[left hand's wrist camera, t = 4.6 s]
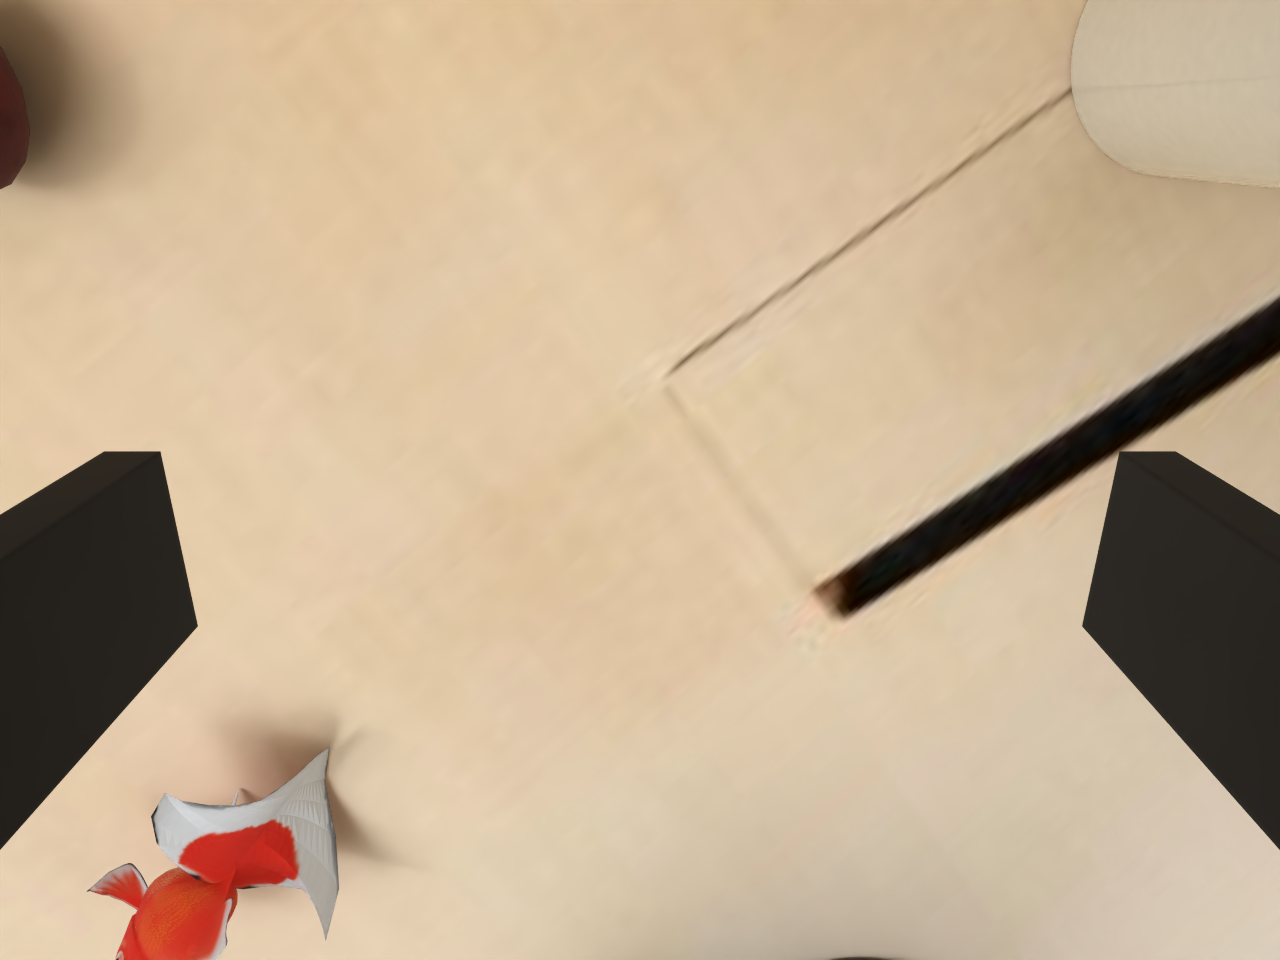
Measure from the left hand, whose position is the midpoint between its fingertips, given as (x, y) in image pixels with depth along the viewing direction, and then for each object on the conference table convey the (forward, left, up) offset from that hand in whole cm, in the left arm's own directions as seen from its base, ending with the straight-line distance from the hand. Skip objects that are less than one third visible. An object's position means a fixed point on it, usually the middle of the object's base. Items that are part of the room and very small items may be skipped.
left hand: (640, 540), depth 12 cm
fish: (-30, +22, -28) cm, 47 cm away
